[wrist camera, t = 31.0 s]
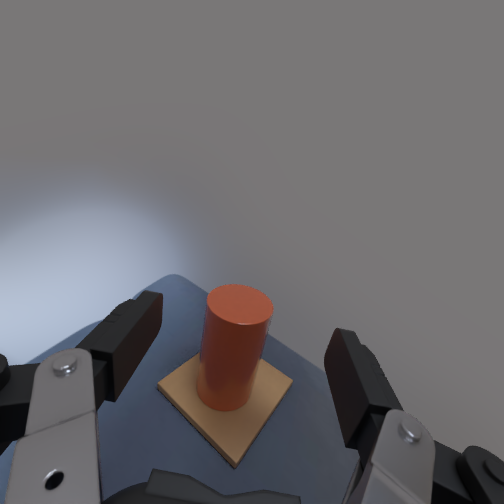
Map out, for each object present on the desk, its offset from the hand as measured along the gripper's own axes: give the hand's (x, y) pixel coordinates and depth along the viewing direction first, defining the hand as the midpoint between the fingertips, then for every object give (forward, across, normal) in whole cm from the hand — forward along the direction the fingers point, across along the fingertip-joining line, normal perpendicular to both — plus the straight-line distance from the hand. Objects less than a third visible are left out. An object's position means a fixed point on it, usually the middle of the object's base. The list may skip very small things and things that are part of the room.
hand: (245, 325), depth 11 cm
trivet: (+9, 0, +15) cm, 18 cm away
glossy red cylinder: (+8, 0, +15) cm, 17 cm away
